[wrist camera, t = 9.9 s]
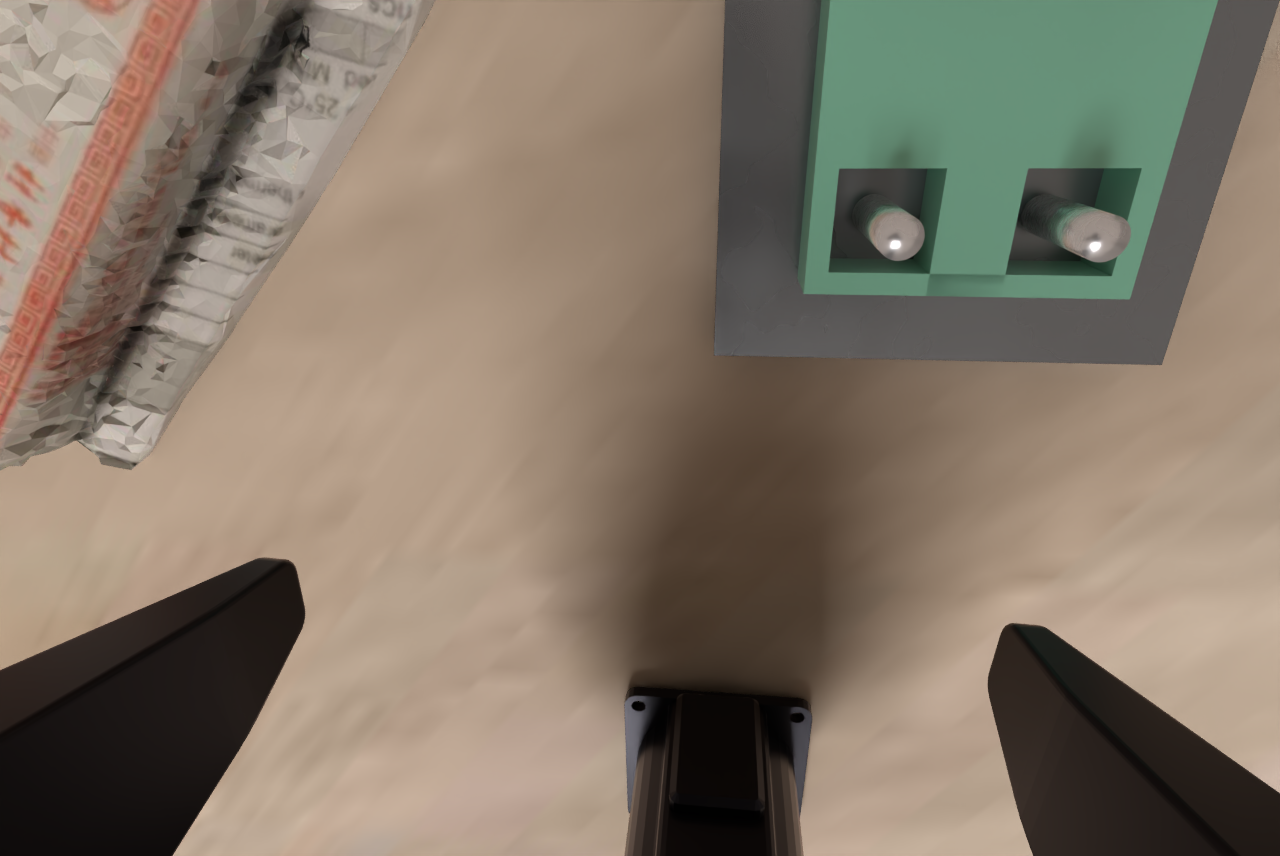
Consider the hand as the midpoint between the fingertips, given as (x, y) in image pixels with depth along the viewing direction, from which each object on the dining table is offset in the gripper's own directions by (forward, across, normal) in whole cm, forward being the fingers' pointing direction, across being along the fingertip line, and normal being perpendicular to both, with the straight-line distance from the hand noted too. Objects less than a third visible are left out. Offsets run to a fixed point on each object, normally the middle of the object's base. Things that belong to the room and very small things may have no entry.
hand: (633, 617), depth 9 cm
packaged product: (+12, +15, -5) cm, 20 cm away
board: (+10, -6, -7) cm, 14 cm away
